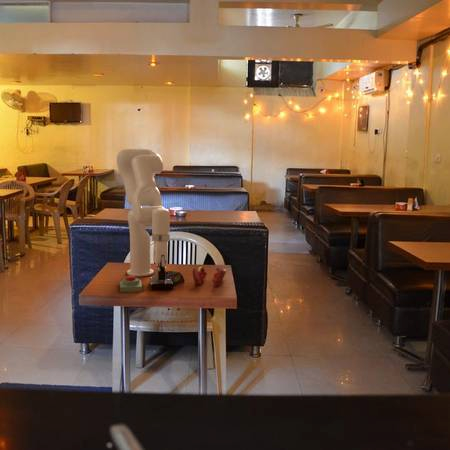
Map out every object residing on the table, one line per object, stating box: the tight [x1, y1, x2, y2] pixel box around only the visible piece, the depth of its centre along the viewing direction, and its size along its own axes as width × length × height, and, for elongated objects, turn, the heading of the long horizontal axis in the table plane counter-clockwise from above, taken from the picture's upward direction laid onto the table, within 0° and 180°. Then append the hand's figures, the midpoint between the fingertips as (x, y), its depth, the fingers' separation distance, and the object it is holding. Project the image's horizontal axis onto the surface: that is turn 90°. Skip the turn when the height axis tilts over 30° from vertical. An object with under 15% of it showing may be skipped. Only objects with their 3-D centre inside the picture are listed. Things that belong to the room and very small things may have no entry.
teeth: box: [192, 266, 227, 287], centre depth 232 cm, size 10×8×15 cm
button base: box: [119, 277, 143, 293], centre depth 221 cm, size 10×9×4 cm
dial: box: [155, 266, 167, 281], centre depth 224 cm, size 4×4×6 cm
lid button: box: [125, 275, 136, 281], centre depth 221 cm, size 4×4×2 cm
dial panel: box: [149, 276, 173, 292], centre depth 225 cm, size 11×9×3 cm
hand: (160, 277), depth 224 cm, fingers closed on dial, 4 cm apart
